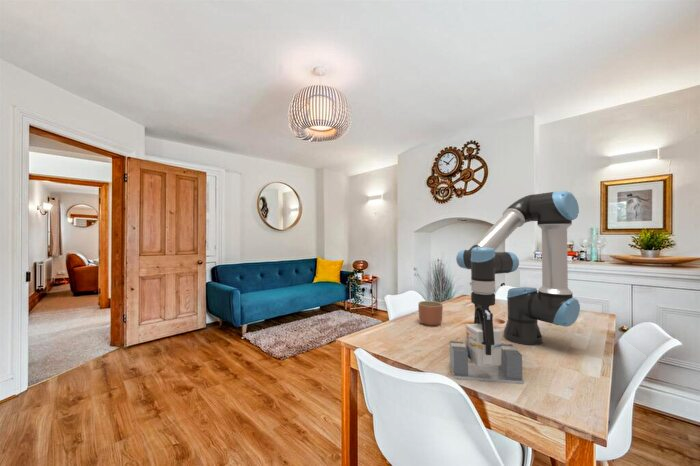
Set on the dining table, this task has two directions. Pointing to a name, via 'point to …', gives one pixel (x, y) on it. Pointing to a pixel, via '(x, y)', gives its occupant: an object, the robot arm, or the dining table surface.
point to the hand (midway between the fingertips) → (483, 357)
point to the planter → (430, 312)
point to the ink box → (476, 348)
